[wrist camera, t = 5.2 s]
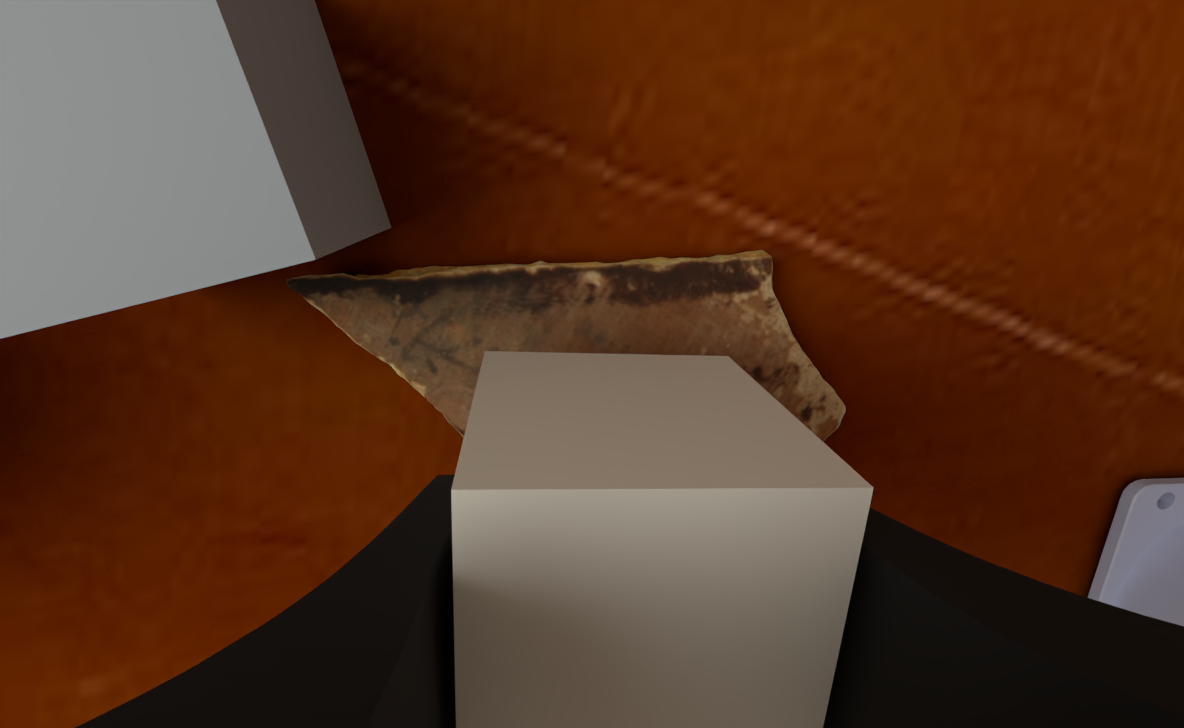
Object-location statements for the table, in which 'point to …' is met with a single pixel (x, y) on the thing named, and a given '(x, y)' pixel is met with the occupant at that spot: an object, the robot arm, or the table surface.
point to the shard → (574, 322)
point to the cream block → (646, 548)
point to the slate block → (168, 151)
